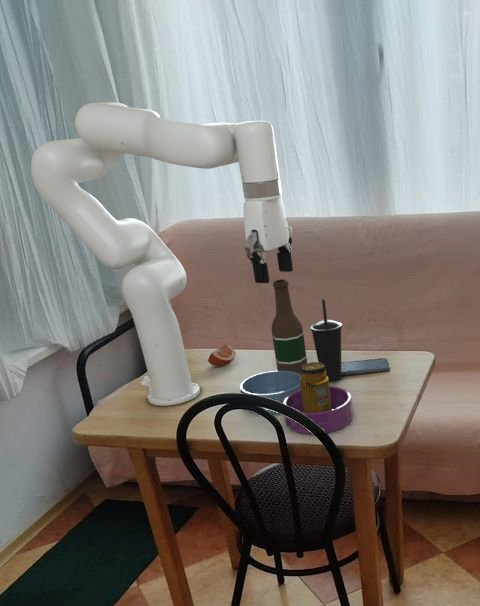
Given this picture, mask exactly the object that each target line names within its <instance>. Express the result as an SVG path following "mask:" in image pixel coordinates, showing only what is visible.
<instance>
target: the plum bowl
mask: <svg viewBox="0 0 480 606" xmlns="http://www.w3.org/2000/svg"><path fill="white" fill-rule="evenodd" d="M329 387H330V396H331V405H332V410H329V411H325V412H318V413H304V409H303V401H302V393H301V390H298V391H296V392H294V393H292V394H290V395H289V396H287V397H286V398H285V400H284V402H283V404H285V405H288V406H290V407H293V408H295V409H297V410H299V411H300V412H301V413H302V414H304V415H306V416H307V417H308V418H310V419H312V420H313V421H314V422H315V423H316V424H318V425H319V426H320V427H321V428H323V429H324V430H325V432H326V433H327V434H330V433H335V432H337V431H340V430H341V429H344V428H346V427H347V426H348V425H349V424H350V423H351V422H352V421H353V417H354V411H353V401H352V400H353V399H352V395H351V393H350V392H349V390H346V388H342V387H338V386H332V385H329ZM284 418H285V424H286V427H287V428H288V429H289V430H291V431H293V432H294V433H297V434H300V435H307V436H315V435H314V434H312V433H311V432H309V431H308V430H307V429H306V428H305V427H303V426H302V425H300V424H299V423H297V422H295V421H294V420H292V419H290V418H288V417H286V416H285V415H284Z"/></svg>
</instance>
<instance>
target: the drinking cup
mask: <svg viewBox="0 0 480 606" xmlns="http://www.w3.org/2000/svg"><path fill="white" fill-rule="evenodd" d="M321 304H322V314H323V319H321V320H319V321H317V322H315V323H312V324H311V325H310V326H309V329H310V331H311V334H312V339H313V343H314V344H313V345H314V348H315V353H316V358H317V362H318V363H322V364H324V365H325V367H326V376H327V377H328V379H329V384H330V383H337V382H339V381H341V380H342V328H343V323H342V322H340V321H338V320H334V319H328V317H327V308H326V299H325V298H322V299H321Z"/></svg>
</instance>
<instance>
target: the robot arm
mask: <svg viewBox="0 0 480 606" xmlns="http://www.w3.org/2000/svg"><path fill="white" fill-rule="evenodd" d="M74 126H75V131H76V132H77V135H78V137H76V138H64V139H57V140H56V139H55V140H51V141H48V142H45V143H42V144H41V145H39V147H37V148H36V149H35V151H34V153H33V154H32V157H31V161H30V174H31V178H32V182H33V184H34V187H35V190H36V191H37V192H38V195H39V196H40V197H41V199H42V200H43V201H44V202H45V203H46V204H47V206H48V207H49V208H50V209H51V210H52V211H53V212H54V213H55V214H56V215H57V216H58V217H59V218H60V219H61V220H63V222H64V223H65V224H66V225H67V226H68V227H69V229H71V230H72V231H73V233H74V234H75V236H77V238H78V239H80V241H81V242H82V243H83V244H84V245H85V246H86V247H87V249H88V250H89V251H90V252H91V253H92V254H93V256H95V258H96V259H97V260H98V261H99V262H100V263H101V264H102V265H104V266H105V267H106V268H107V269H111V270H120V269H122V268H126V267H128V266H131V265H133V264H134V265H135V267H133V268H131V269H129V271H128V272H127V273H126V274H125V275H124V277H123V280H122V281H121V282H122V283H121V291H122V295H123V298H124V301H125V303H126V305H127V307H128V309H129V312H130V314H131V316H132V319H133V323H134V327H135V329H136V333H137V337H138V340H139V343H140V347H141V351H142V355H143V359H144V364H145V366H146V367H145V368H146V370H147V374H148V375H145V376H144V377H143V380H142V381H141V382H140V386H141V387H142V388H148V390H149V392H148V393H147V395H146V398H147V401H148V402H149V403H150V404H151V405H154V406H158V407H159V406H160V407H163V406H164V407H165V406H166V407H167V406H175V405H180V404H183V403H187V402H189V401H192V400H193V399H195V398H197V397H198V396H199V394H200V393H201V388H200V385H199V384H198V383H196V382H194V381H193V382H192V377H191V373H190V368H189V363H188V359H187V355H186V350H185V345H184V341H183V337H182V333H181V329H180V325H179V321H178V318H177V316H176V314H175V312H174V310H173V309H172V307H171V305H170V300H172V299H173V298H176V297H177V296H179V295H180V294H181V293H183V291H184V290H185V289H186V287H187V282H188V278H187V277H188V276H187V273H186V270H185V267H184V266H183V265H182V263H181V262H180V260H179V259H178V257H176V256H175V254H174V253H173V252H172V251H171V249H170V248H169V246H167V245H166V243H164V241H163V240H162V239H161V238H160V236H159V235H158V234H157V233H156V232H155V231H154V230H153V229H152V228H151V227H150V226H149V225H148V224H146V223H145V222H144V221H142V220H140V219H137V218H133V217H125V218H121V219H116V218H115V217H114V216H113V215H112V214H111V213H110V212H109V211H108V210H107V209H106V208H105V206H104V205H103V204H102V203H101V202H100V201H99V199H97V198H96V197H94V196H93V195H92V194H90V192H87V191H86V190H85V189H83V188H82V187H81V186H80V185H79V183H85V182H90V181H95V180H97V179H100V178H102V177H104V176H105V175H106V174H107V173H108V172H109V171H110V170H112V168H114V166H115V165H116V164H118V162H119V161H120V160H121V159H122V158H123V157H124V156H125V155H134V156H139V157H145V158H151V159H153V160H156V161H160V162H163V163H167V164H170V165H175V166H182V167H189V168H195V169H203V170H210V169H216V168H219V167H223V166H227V165H228V166H229V165H232V164H236V163H238V165H239V171H240V172H239V173H240V177H241V185H242V192H243V198H244V200H243V225H244V237H245V242H244V243H243V249H244V251H245V254H246V257H247V258H248V259H249V262H250V264H252V270H253V275H254V276H253V277H254V281H255V283H256V284H269V283H270V273H269V268H268V262H266V258H267V254H268V253H269V252H272V251H274V250H277V251H278V252H276V257H277V264H278V271H279V272H280V273H281V272H283V273H284V272H285V273H292V272H293V271H294V266H293V259H292V253H291V252H292V250H293V249H292V242H293V239H292V236H293V228H292V227H291V226H289V225H288V219H287V214H286V210H285V205H284V200H283V192H282V184H281V179H280V178H281V177H280V169H279V161H278V155H277V154H278V153H277V147H276V146H277V145H276V139H275V132H274V131H275V130H274V127H273V125H272V123H271V122H270V121H268V120H252V121H251V120H250V121H242V122H239V123H232V122H212V123H203V124H202V123H201V124H200V123H189V122H183V121H176V120H171V119H165V118H162V117H161V116H160V114H159V113H158V112H156V111H154V110H151V109H146V108H145V109H143V108H139V107H138V108H137V107H130V106H128V105H126V104H124V103H121V102H118V101H117V102H116V101H103V102H101V101H97V102H89V103H86V104H84V105H82V106H81V107H80V108H79V110H78V111H77V113H76V116H75V118H74Z"/></svg>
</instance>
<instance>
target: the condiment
mask: <svg viewBox="0 0 480 606" xmlns="http://www.w3.org/2000/svg"><path fill="white" fill-rule="evenodd" d="M300 371H301V377H302V378H301V380H300V386H301V393H302V401H303V409H304V413H318V412H325V411H329V410H332V405H331V396H330V387H329V386H330V383H329V379H328V377H327V376H326V367H325V365H324V364H322V363H318V361H317V362H315V361H313V362H307V364H304V365H303V366H302V367H301V369H300Z"/></svg>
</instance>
